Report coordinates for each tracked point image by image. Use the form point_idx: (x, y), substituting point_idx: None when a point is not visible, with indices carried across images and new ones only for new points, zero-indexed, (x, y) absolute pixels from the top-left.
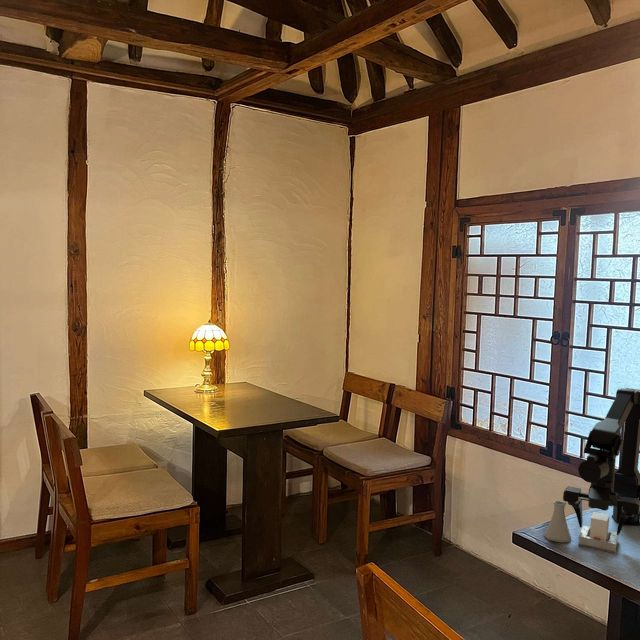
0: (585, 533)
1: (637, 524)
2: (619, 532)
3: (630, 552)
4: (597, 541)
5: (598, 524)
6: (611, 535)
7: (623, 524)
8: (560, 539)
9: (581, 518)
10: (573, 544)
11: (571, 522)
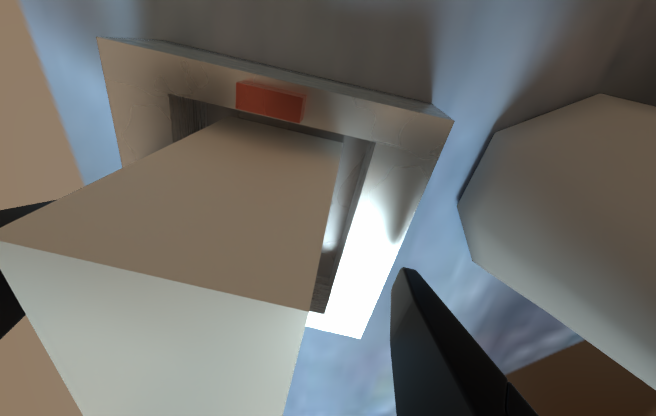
0: (369, 213)
1: None
2: (45, 202)
3: (82, 114)
4: (273, 77)
5: (205, 215)
6: None
7: None
8: (604, 110)
9: (423, 352)
10: (467, 109)
11: (392, 387)
